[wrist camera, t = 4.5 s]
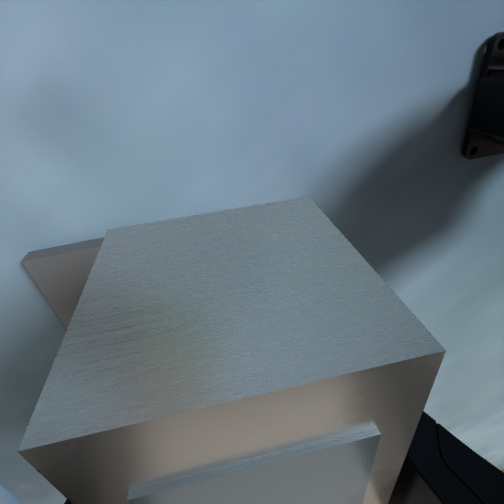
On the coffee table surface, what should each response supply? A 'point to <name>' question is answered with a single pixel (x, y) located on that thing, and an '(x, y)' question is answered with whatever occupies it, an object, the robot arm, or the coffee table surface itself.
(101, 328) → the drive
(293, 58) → the coffee table surface
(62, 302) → the pegged base plate
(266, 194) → the coffee table surface
